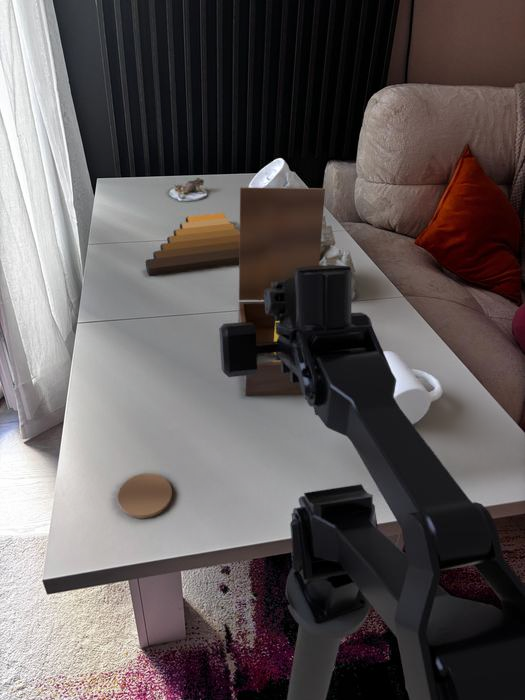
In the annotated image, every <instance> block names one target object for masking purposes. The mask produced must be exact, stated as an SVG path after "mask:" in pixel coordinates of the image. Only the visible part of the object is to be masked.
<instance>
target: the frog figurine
mask: <svg viewBox="0 0 525 700" xmlns="http://www.w3.org/2000/svg"><path fill="white" fill-rule="evenodd" d="M204 183H205V180H204V179H202V178H199V177H197V178H196V179H193V180H188V181H187V182H186V184H185V185H183V184H177V185H176V184H174V188H172V189H170V191H169V192H168V194H169V196H170V197H172V198H174V199H176V200H178V201H179V202H193V201H200V200H202V199H205V198H206V197H207V195H208V191H207V190H206V189H204V188H201V187H200V186H204Z"/></svg>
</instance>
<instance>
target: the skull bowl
mask: <svg viewBox="0 0 525 700" xmlns="http://www.w3.org/2000/svg"><path fill="white" fill-rule="evenodd" d="M295 175H296V172H295V171H291V169H290V168H289V165H288V163H287V162H286V160H284V159H283V158H281V157H279V158H276V159H274V160H273V161H271V162H269V163H268V164H267V165H265V166H264V167H263V168H261V169H260V170H259V171H258V172H257V173H256V175H255V176H254V177H253V178H252V179H251V180H250V182H249V184H248V187H254V188H301V187H300V186H301V185H300V183H299V182H298V181H297V180H296V179H295Z"/></svg>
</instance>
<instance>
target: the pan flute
mask: <svg viewBox="0 0 525 700" xmlns="http://www.w3.org/2000/svg"><path fill="white" fill-rule="evenodd" d="M166 241H167V242H165V243H161V244H160V246H159V247H160V250H156V251H155V250H154V251H153V252H152V255H153V256H152V257H153V258H150V259H149V258H148V259H146V260H145V268H146V269H145V270H146V273H147V275H148V276H149V277H150V276H156V275H157V276H158V275H164V274H165V275H167V274H173V273H180V272H189V271H194V270H195V271H197V270H203V269H210V268H211V269H212V268H217V267H224V266H232V265H239V242H240V230H239V228H235V225H234V223H233V222H230V217H226V214H225V212H218V213H209V214H199V215H189V216H186V217H185V222H181V223H180V224H179V228H175V229H174V230H173V235H168V237H166Z"/></svg>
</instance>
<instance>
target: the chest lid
mask: <svg viewBox="0 0 525 700" xmlns="http://www.w3.org/2000/svg"><path fill="white" fill-rule="evenodd" d="M325 195H326V189H325V188H321V187H320V188H319V187H318V188H317V187H308V188H307V187H299V188H254V187H249V186H248V187H247V186H246V187H239V234H240V242H239V264H238V300H239V301H264V291H265V290H266V289H269V288H271V282H281V281H285V280H286V279H287V278H293V277H295V268H299V267H306V266H319V262H320V249H321V236H322V222H323V215H324V209H325V207H324V206H325Z"/></svg>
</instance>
